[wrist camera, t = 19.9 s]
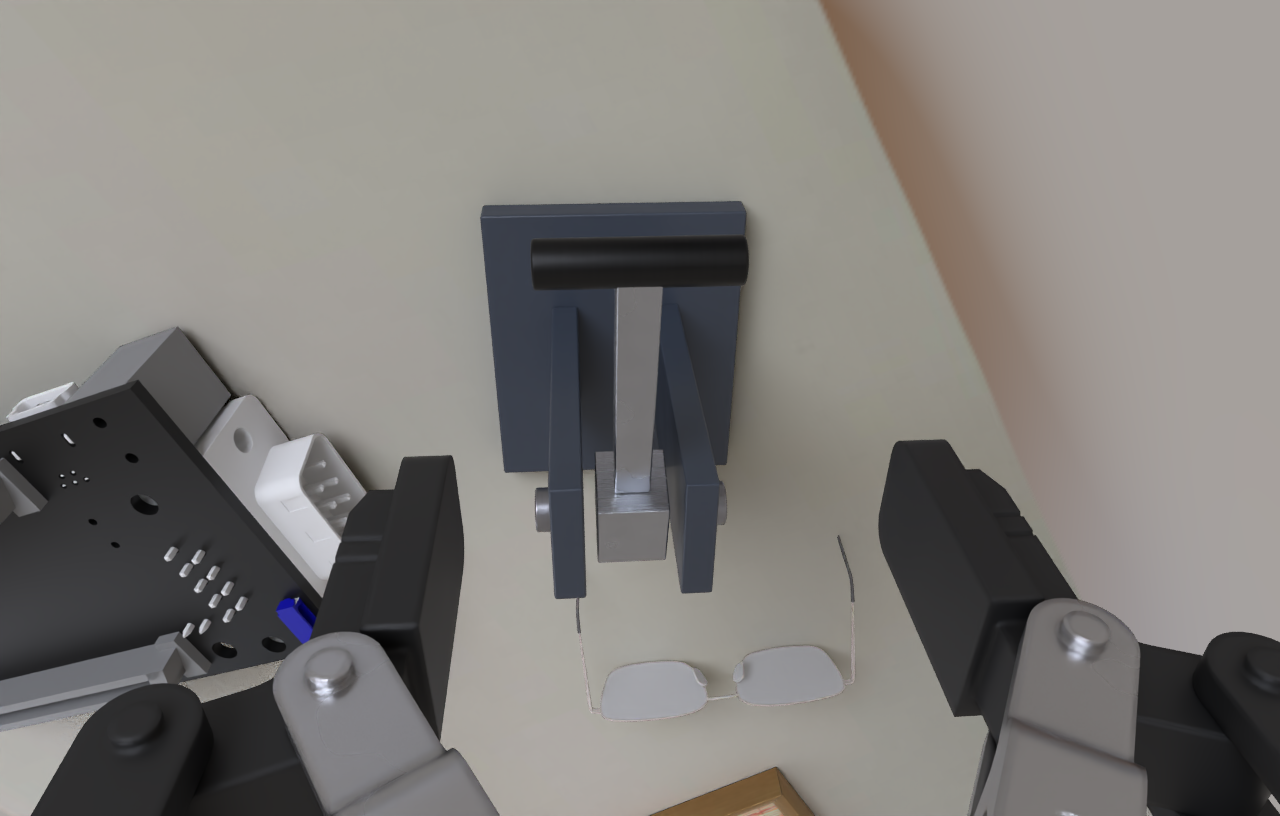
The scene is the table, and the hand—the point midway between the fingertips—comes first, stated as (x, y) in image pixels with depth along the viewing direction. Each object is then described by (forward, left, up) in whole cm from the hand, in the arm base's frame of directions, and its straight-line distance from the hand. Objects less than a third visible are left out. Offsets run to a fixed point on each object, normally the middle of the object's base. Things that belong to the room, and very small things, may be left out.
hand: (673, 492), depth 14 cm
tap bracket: (+9, 0, -22) cm, 24 cm away
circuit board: (+18, -24, -22) cm, 37 cm away
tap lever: (+5, 0, -11) cm, 12 cm away
